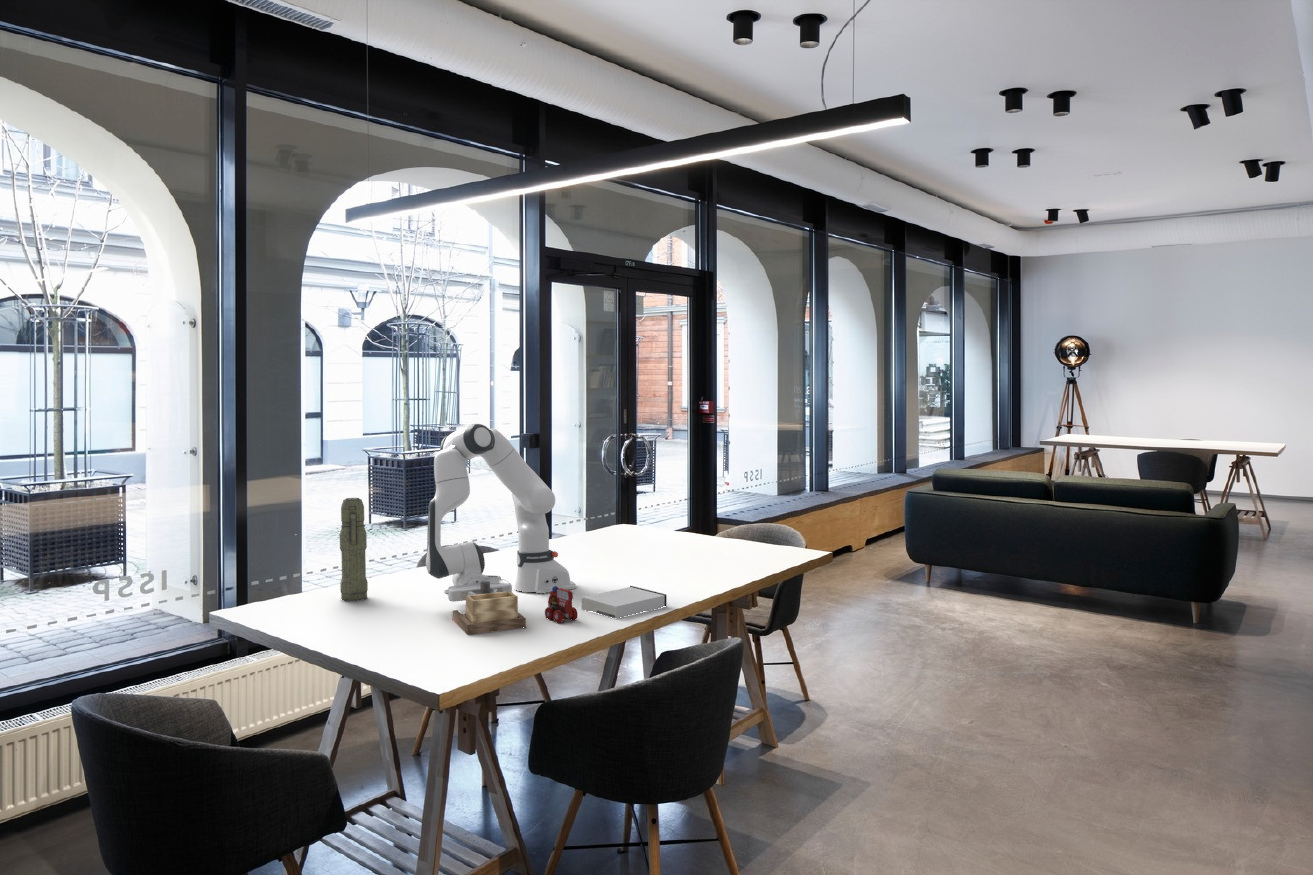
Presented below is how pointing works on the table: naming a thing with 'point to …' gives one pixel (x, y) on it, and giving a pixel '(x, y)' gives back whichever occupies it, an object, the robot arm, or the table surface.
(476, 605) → the crate
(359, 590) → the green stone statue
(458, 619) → the tray
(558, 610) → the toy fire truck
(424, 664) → the table surface
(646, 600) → the disc drive
